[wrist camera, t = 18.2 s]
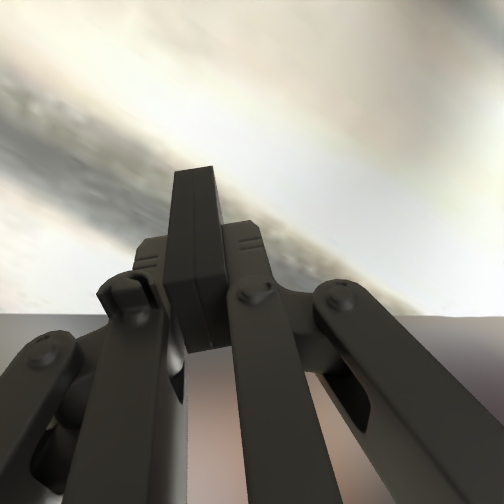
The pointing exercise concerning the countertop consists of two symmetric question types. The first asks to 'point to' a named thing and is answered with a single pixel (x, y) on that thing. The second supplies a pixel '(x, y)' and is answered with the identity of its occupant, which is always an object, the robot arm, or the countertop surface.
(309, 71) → the countertop surface
